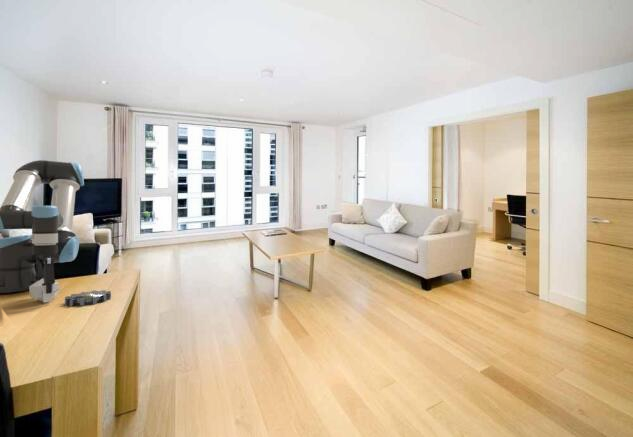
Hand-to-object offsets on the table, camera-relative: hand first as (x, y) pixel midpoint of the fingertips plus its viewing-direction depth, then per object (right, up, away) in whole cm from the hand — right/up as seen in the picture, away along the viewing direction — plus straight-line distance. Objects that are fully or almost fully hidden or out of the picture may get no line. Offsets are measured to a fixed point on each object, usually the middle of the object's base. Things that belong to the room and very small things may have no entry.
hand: (44, 299), depth 113 cm
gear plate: (+16, -1, +2) cm, 16 cm away
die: (0, -2, 0) cm, 2 cm away
